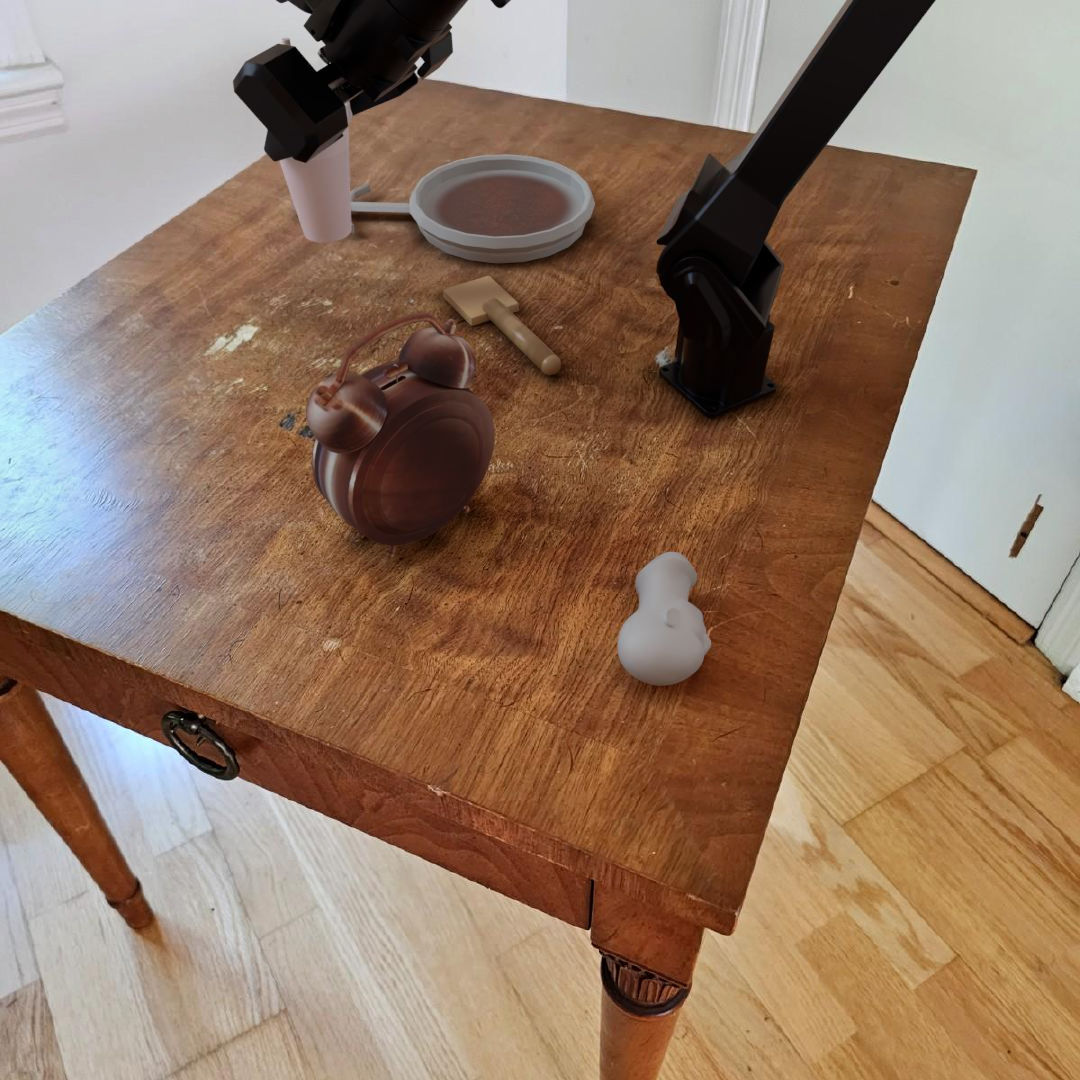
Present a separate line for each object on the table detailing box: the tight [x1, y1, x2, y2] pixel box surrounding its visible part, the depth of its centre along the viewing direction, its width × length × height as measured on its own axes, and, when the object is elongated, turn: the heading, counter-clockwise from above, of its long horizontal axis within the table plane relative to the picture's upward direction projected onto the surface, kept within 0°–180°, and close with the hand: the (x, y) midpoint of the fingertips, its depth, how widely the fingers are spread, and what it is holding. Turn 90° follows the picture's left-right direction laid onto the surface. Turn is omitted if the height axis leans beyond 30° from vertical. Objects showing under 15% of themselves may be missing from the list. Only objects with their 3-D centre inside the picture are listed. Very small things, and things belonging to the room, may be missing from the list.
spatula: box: [442, 275, 562, 376], centre depth 76 cm, size 14×4×2 cm, turn 31°
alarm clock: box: [305, 312, 496, 559], centre depth 56 cm, size 11×5×15 cm, turn 133°
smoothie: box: [262, 37, 353, 244], centre depth 70 cm, size 6×6×14 cm
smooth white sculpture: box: [616, 551, 712, 687], centre depth 53 cm, size 4×8×5 cm
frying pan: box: [292, 153, 596, 264], centre depth 88 cm, size 17×3×28 cm
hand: (296, 137), depth 70 cm, fingers closed on smoothie, 6 cm apart
